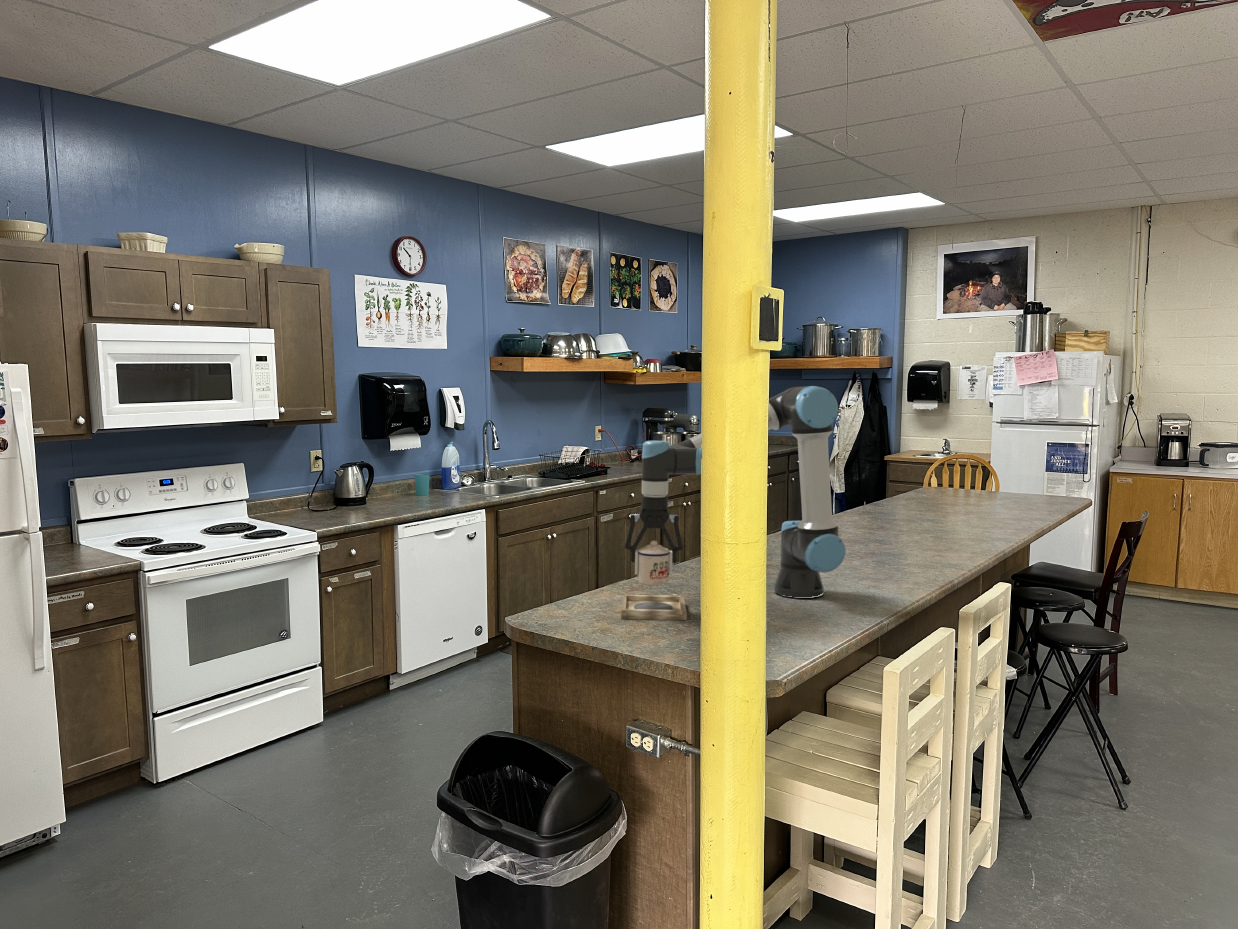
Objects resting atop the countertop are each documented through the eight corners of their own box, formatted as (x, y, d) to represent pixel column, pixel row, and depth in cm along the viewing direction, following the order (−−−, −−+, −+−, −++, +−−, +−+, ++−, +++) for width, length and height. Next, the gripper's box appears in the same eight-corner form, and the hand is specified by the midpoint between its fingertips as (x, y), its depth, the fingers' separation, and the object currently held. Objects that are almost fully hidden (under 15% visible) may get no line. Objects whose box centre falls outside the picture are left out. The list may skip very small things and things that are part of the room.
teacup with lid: (651, 586, 228) (651, 545, 227) (631, 580, 235) (631, 540, 234) (683, 581, 235) (684, 540, 234) (663, 575, 242) (663, 536, 241)
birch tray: (683, 604, 244) (683, 595, 244) (686, 620, 227) (686, 611, 227) (622, 603, 245) (622, 594, 244) (621, 619, 228) (621, 610, 228)
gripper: (692, 494, 236) (690, 571, 238) (616, 493, 237) (615, 570, 239) (694, 497, 229) (692, 577, 231) (615, 496, 229) (614, 575, 231)
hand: (653, 573), depth 235 cm, fingers closed on teacup with lid, 9 cm apart
